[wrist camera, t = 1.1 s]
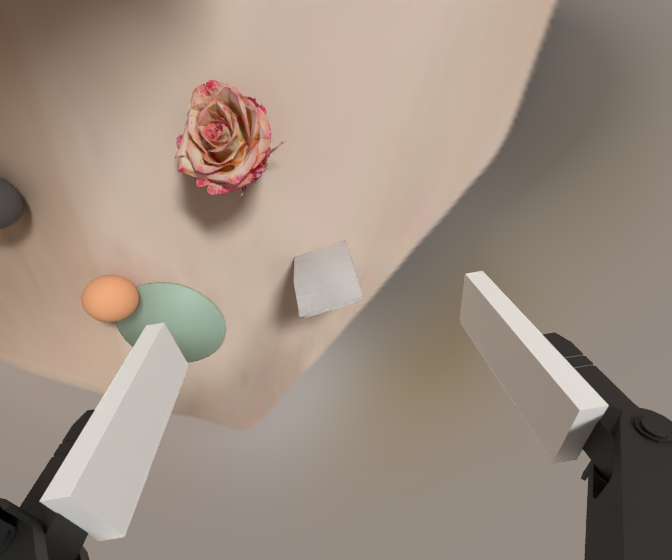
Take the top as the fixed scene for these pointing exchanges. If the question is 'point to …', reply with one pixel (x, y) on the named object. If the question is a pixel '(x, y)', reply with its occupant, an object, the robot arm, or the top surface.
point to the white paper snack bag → (325, 280)
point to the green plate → (177, 319)
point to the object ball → (110, 298)
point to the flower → (224, 139)
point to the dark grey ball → (9, 204)
